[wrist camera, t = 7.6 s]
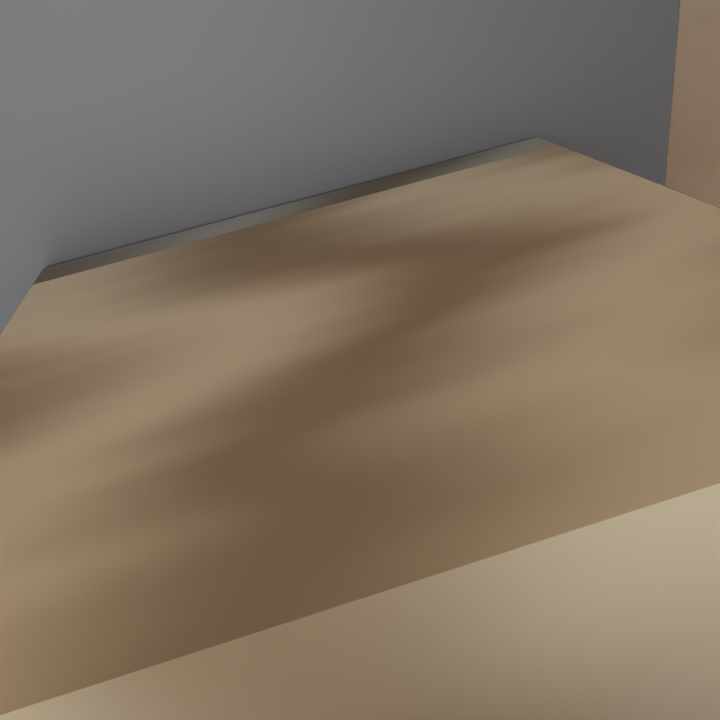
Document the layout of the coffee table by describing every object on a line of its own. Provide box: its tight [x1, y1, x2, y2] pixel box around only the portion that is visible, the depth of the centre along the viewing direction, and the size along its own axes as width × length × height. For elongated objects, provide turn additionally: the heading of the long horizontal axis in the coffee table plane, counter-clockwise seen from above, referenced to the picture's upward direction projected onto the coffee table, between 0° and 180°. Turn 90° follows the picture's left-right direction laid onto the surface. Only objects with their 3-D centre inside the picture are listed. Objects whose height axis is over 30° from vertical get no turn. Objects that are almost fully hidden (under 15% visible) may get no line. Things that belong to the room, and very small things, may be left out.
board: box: [0, 0, 680, 335], centre depth 13 cm, size 16×28×2 cm, turn 12°
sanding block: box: [0, 137, 720, 720], centre depth 11 cm, size 10×12×9 cm
